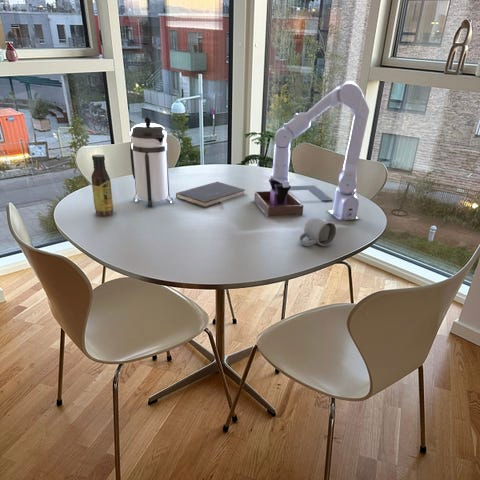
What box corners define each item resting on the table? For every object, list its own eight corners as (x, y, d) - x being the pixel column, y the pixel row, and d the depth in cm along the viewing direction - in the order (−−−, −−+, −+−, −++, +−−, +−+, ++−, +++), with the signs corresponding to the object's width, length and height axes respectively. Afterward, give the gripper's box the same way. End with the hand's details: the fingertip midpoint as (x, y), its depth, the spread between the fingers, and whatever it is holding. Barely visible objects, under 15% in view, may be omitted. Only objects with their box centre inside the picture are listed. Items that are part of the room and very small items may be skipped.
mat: (332, 201, 184) (332, 199, 184) (299, 202, 181) (299, 201, 181) (313, 186, 201) (313, 185, 200) (282, 187, 198) (283, 186, 197)
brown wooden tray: (302, 216, 168) (303, 205, 166) (267, 218, 165) (268, 207, 163) (286, 200, 183) (287, 190, 181) (254, 202, 180) (254, 191, 178)
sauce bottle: (109, 217, 160) (102, 158, 149) (92, 215, 161) (84, 157, 150) (117, 211, 165) (110, 154, 155) (100, 209, 166) (93, 152, 156)
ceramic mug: (318, 235, 153) (321, 212, 149) (335, 243, 147) (338, 220, 143) (293, 241, 148) (295, 218, 144) (309, 250, 142) (312, 227, 138)
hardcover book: (244, 195, 187) (245, 189, 186) (204, 208, 172) (204, 202, 171) (216, 186, 195) (216, 181, 194) (175, 198, 180) (175, 192, 179)
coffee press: (177, 196, 183) (174, 114, 167) (168, 209, 169) (163, 121, 153) (134, 193, 184) (127, 111, 168) (121, 206, 170) (112, 118, 154)
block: (286, 206, 171) (287, 192, 169) (273, 206, 170) (274, 193, 168) (282, 201, 176) (283, 188, 173) (269, 202, 174) (270, 189, 172)
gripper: (264, 159, 170) (262, 195, 177) (276, 169, 158) (273, 208, 166) (282, 158, 172) (279, 194, 179) (296, 169, 160) (292, 207, 167)
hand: (278, 201), depth 172 cm, fingers closed on block, 5 cm apart
